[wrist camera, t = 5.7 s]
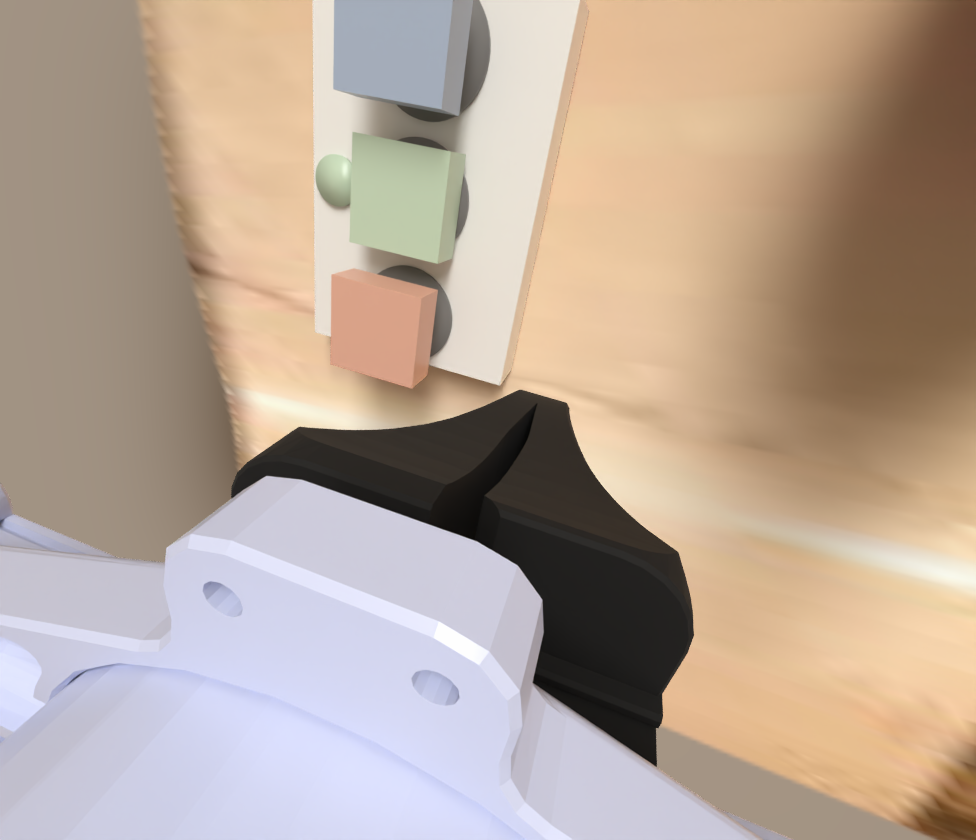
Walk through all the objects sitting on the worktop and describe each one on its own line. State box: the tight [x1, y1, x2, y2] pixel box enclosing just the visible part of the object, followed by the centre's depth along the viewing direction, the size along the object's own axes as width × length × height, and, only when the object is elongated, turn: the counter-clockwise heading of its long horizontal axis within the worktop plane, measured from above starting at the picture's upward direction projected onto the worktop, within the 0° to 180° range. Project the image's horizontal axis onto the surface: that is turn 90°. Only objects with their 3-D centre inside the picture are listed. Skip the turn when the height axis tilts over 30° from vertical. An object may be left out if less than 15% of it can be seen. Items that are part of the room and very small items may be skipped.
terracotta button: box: [330, 268, 438, 389], centre depth 18 cm, size 4×4×2 cm
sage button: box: [349, 132, 466, 264], centre depth 17 cm, size 4×4×2 cm
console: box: [313, 0, 589, 386], centre depth 18 cm, size 13×9×2 cm
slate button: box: [333, 0, 473, 116], centre depth 13 cm, size 4×4×2 cm
